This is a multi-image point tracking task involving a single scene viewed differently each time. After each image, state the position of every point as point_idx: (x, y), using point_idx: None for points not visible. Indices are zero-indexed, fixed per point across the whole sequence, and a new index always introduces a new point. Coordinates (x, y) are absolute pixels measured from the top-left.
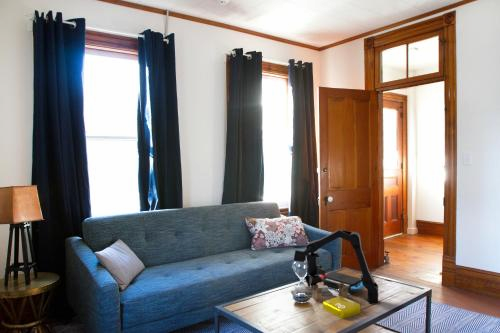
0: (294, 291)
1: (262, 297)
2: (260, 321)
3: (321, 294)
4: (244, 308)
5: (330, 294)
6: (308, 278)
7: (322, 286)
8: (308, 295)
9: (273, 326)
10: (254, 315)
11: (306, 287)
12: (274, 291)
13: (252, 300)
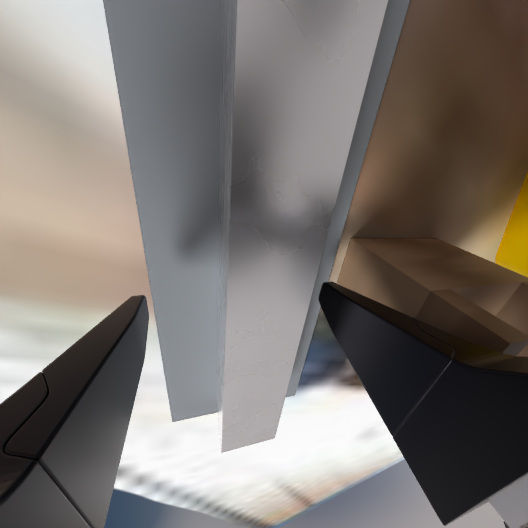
0: (193, 400)
1: (230, 489)
2: (400, 451)
3: (514, 273)
4: (307, 495)
5: (402, 8)
6: (82, 495)
7: (297, 79)
8: (312, 316)
9: None
10: (362, 468)
11: (250, 368)
12: (148, 476)
13: (252, 501)
